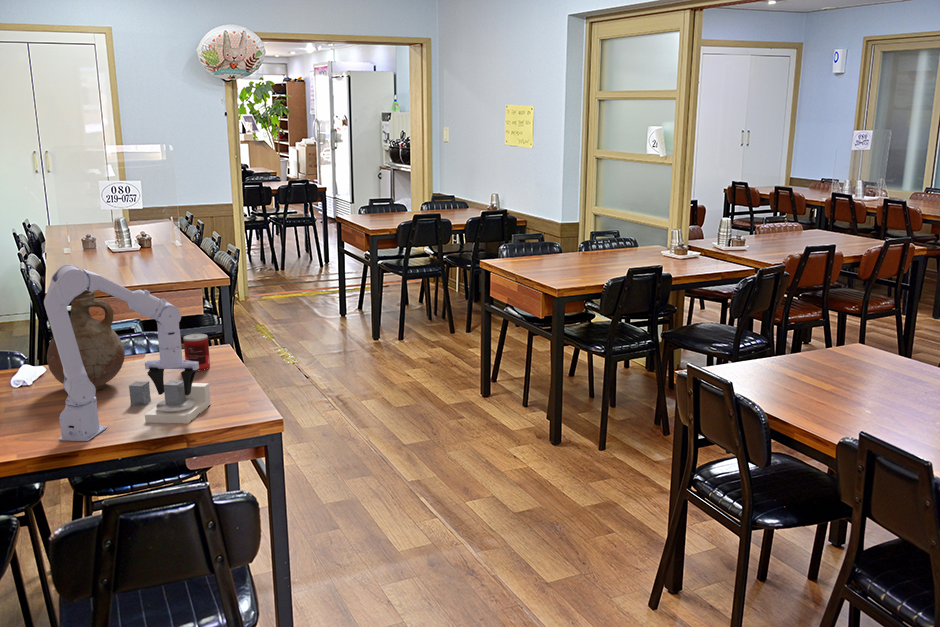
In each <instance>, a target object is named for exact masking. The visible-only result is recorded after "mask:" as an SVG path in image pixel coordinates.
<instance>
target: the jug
mask: <svg viewBox="0 0 940 627" xmlns="http://www.w3.org/2000/svg"><path fill="white" fill-rule="evenodd" d="M70 304H71V305H70V316H69V318H70V321H71V325H72V328H73V331H74V335H75V338H76V342H77V345H78V349H79V352H80V356H81V359H82V362H83V366H84V368H85V371H86V373H87V376H88V378H89V380H90V382H91V383H92V384H93V385H94V386H95V389H96V391H99V390H103V389H104V388H106V386H107V383H109V382H110V381H111V380H113V379H114V378H115V377H116V376H117V375H118V373H120V371H121V368H122V367H123V364H124V362H125V357H126V356H125V355H126V353H125V348H124V344H123V342H122V340H121V338H120V336H119V335H118V334H117V333H116V331H115V330H114V329H113V327H112V324H113V321H114V310H113V308H112V306H111V305H110V304H109V303H108V302H107V301H105V300H101V299H96V295H95V291H88V290H87V289H86V290H85V291H84V292H82V293H81V294H79V295H78V296H76V297H74V299H73V300H72V301H71V302H70ZM92 307H94V308H101V309H102V310H104V313H105V314H104V318H103V319H102V320H101V321H100V320H98V319H95V318H93V317H92V315H91V313H90V308H92ZM46 362H47V365H48V370H49V371H50V373H51V374H52V376H53V377H54V378H55V379H56V381H58V382H59V383H61V384H62V385H63V383H64V379H65V376H64V372H63V366H62V362H61V359H60V356H59V352H58V349H57V346H56V342H55V339H54V336H53V335H52V338H51V340H50V343H49V345H48V348H47V352H46Z"/></svg>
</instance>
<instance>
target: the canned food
mask: <svg viewBox="0 0 940 627" xmlns="http://www.w3.org/2000/svg"><path fill="white" fill-rule="evenodd" d="M182 340H183V348H184V349H183V350H184V351H183V352H184V360H188V361H196V362H199V369H197V372H199V371H198V370H203V371H205V370H204V369H207V368H208V369H210V367H211V359H210V346H209V337H208V335H207V334H204V333H191V334H187V335H184V336H183V339H182ZM208 369H207V370H208Z"/></svg>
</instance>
